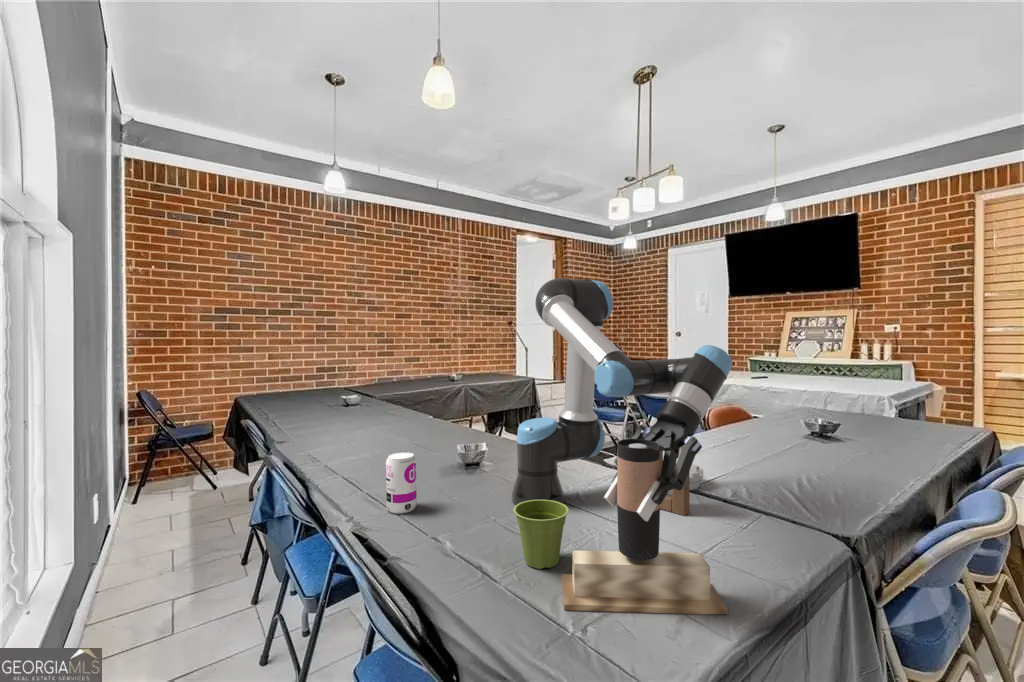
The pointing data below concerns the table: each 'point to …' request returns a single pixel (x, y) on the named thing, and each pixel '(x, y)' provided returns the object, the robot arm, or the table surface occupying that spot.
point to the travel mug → (637, 498)
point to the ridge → (640, 584)
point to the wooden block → (677, 496)
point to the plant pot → (541, 531)
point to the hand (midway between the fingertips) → (624, 508)
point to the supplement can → (401, 482)
